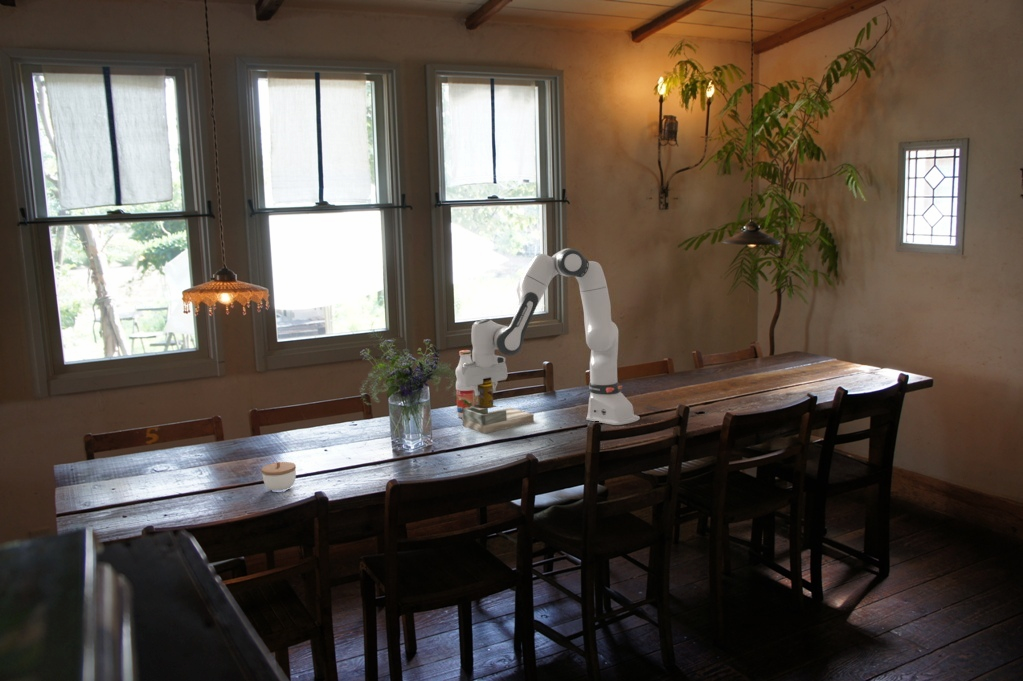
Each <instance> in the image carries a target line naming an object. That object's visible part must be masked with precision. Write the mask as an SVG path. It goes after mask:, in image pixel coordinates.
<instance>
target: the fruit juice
mask: <svg viewBox="0 0 1023 681" xmlns="http://www.w3.org/2000/svg"><path fill="white" fill-rule="evenodd" d="M458 354H459V356H460V357H459V361H458V363H457V367H455V373H454V374H455V376H456V381H455V393H456V412H457V417H458V418H460V419H462V418H463V409H466V408H471V406H474V405H478V396H475V391H474V390H473V388H472V386H470V387H465V386H463V385H462V384H461V376H462V366H463V365H464V364H465V363H470V362H473V359H472V357H471V355H472V351H471V350H469V349H463V350H459V352H458ZM468 366H469V365H468ZM477 390H478V388H477Z"/></svg>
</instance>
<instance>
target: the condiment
mask: <svg viewBox="0 0 1023 681" xmlns="http://www.w3.org/2000/svg"><path fill="white" fill-rule="evenodd" d="M478 391H480V396H478V405H474V406H471V407H473V408H475V409H479V410H481V409H486V408H488V409H492V408H493V409H494V408H498V406H497V405H494V393H493V383H492V381H491V377H490V378H485V379H483V384H480V385H478Z"/></svg>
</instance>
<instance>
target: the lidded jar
mask: <svg viewBox="0 0 1023 681" xmlns="http://www.w3.org/2000/svg"><path fill="white" fill-rule="evenodd" d="M296 468H297V467H296V464H295V463H294V462H289V461H288V462H287V461H277V462H273V463H269V464H267V465H265V466H263V467H262V468H261V474H262V480H263V483H264V485H265V487H266V488H267V489H268V490H269V489H271V490H283V489H287V488H290V487H291V486H292V487H293V486H294V484H295V481H296V478H297V476H296V474H297V473H296V472H297V470H296ZM292 487H291V488H292ZM291 488H290V489H291ZM271 490H270V491H271Z"/></svg>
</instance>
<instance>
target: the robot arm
mask: <svg viewBox="0 0 1023 681" xmlns="http://www.w3.org/2000/svg"><path fill="white" fill-rule="evenodd" d="M557 275H558V276H562V277H567V278H568V277H569V278H570V277H573V278H575V279H576V281H577V283H578V287H579V292H580V298H581V302H582V308H583V321H584V322H583V323H584V331H585V332H584V333H585V343H586V346H587V347H588V348H589V349H590V350H591V351H590V358H589V383H588V389H589V390H588V391H589V393H590V394H589V398H588V409H587V416H586V421H592V422H595V421H599V422H598V423H600V424H601V423H602V424H607V425H612V426H613V425H614V426H621V425H626V424H632V423H635V422H638V421H639V420H640V419H641V418H640V416H639V415H636V414H634V406H633V404H632V403H631V401H630V400H628V398H627V397H626V396H625V395H624V393H622V388H623V385H620V382H618V352H619V328H618V326H617V324H616V323H615V322H613V320H612V312H611V309H612V308H611V307H612V306H611V300H610V299H611V298H610V295H609V289H608V285H607V280H606V277H605V274H604V270H603V268H602V265H601V264H600V263H599V262H598V261H593V260H587V259H586V257H585V256H584V255H583V254H582V252H581V251H579V250H577V249H575V248H563V249H561V250H558V251H556V252H555V253H554V254H552V255H550V256H549V255H548V254H545V253H539V254H536V255H535V256H534V257H533V259H531V261H530V262H529V263H528V265H527V267H526V269H525V270H524V272H523V273H522V275H521V277H520V278H519V282H518V284H517V288H516V292H517V296H518V307H517V309H516V312H515V314H514V315H513V318H512V320H511V323H510V324H509V326H508V325H503V324H499V323H497V322H494V321H493V320H491V319H490V318H483V319H479V320H476V321H475V322H473V323H472V325H471V335H470V336H471V338H470V339H471V345H472V351H471V355H472V357H471V360H472V362H470V363H465V364H464V365H463V366H462V376H461V384H462V385H463V386H465V387H470V386H472V388H473V390H474V391H475V396H480V391H478V390H477V388H478V385H480V384H483V379H485V378H490V377H491V381H492V382H491V383H492V384H493V394H494V393H496V388H497V385H498V384H499V381H505V380H507V378H508V368H507V367H508V366H507V364H506V359H507V358H506V357H504V356H502V355H505V356H515V355H517V354H518V353H520V351H521V350H522V348H523V345H524V341H525V339H524V338H525V333H526V331H527V328H528V326H529V324H530V322H531V320H532V317H533V315H534V313H535V311H536V310H537V309H536V308H537V307H538V304H539V303H540V300H541V299H542V297H543V296H544V294H545V293H546V290H547V289H548V287H549V285H550V283H551V281H552V280H553V278H555V276H557ZM495 350H498V351H499V352H500V353H501V354H502V355H501V356H500V355H497V354H495ZM468 365H469V366H468Z"/></svg>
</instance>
